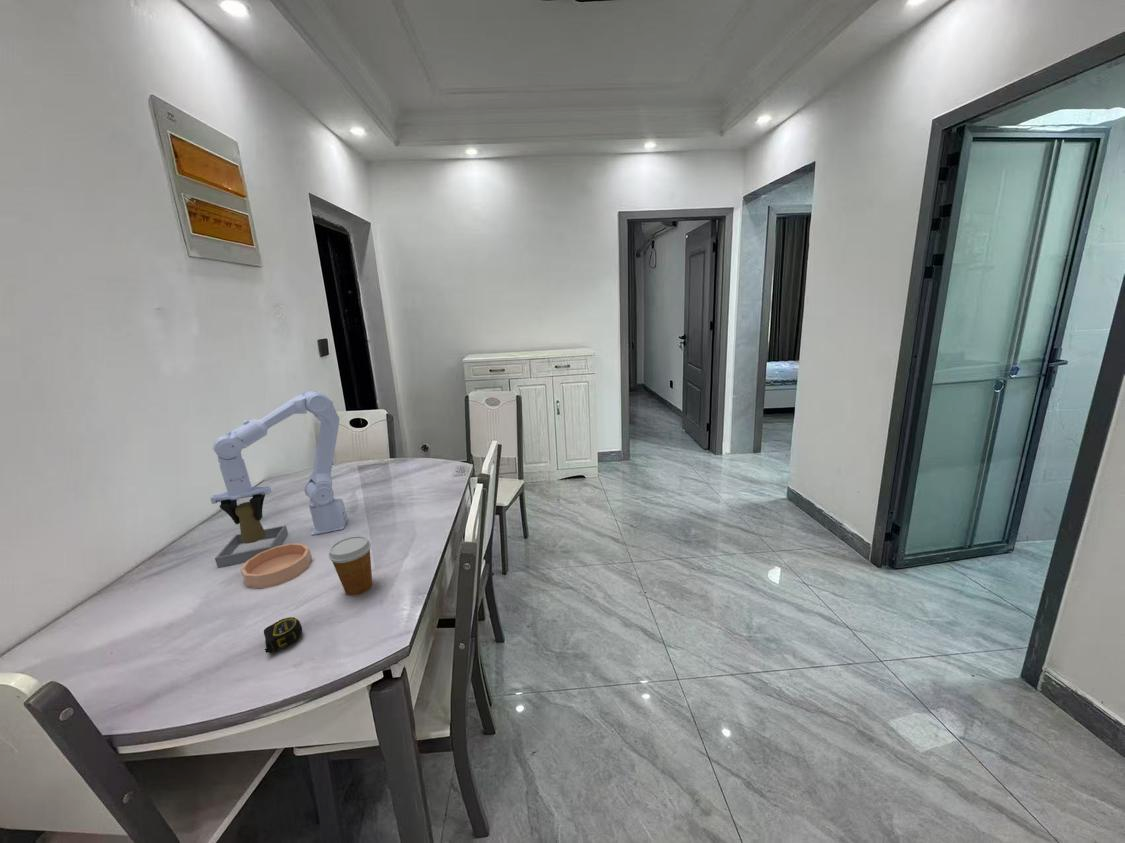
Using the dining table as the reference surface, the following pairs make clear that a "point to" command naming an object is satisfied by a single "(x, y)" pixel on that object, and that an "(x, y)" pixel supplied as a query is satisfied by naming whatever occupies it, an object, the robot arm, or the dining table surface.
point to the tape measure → (282, 634)
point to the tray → (228, 558)
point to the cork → (249, 523)
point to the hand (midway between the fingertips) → (249, 520)
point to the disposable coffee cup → (352, 564)
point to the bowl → (276, 565)
